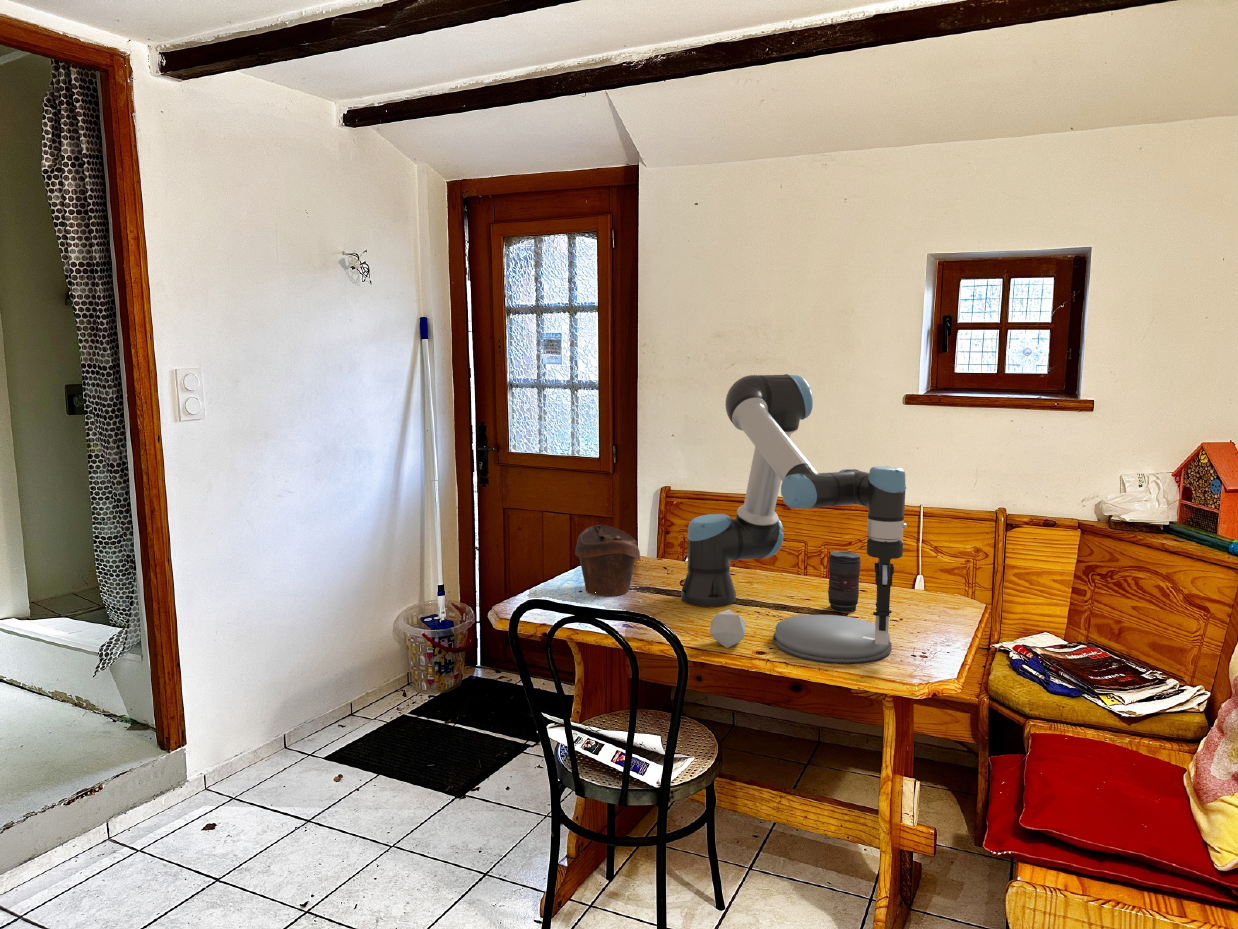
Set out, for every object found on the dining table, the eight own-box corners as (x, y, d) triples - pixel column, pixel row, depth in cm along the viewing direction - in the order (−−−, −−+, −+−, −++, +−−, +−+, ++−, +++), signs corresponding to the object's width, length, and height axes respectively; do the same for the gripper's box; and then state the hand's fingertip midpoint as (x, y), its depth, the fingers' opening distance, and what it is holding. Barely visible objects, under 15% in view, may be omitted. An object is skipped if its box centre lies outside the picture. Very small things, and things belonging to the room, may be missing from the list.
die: (724, 638, 207) (702, 610, 204) (754, 625, 204) (733, 596, 201) (722, 660, 200) (699, 632, 197) (753, 647, 196) (731, 618, 194)
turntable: (756, 644, 197) (757, 610, 196) (801, 616, 218) (802, 585, 217) (866, 667, 182) (868, 631, 181) (904, 635, 204) (905, 602, 203)
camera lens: (860, 614, 224) (861, 558, 222) (828, 612, 226) (829, 556, 224) (857, 605, 232) (859, 551, 230) (827, 603, 233) (828, 550, 232)
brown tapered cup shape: (621, 604, 234) (621, 539, 231) (562, 593, 244) (561, 532, 242) (653, 588, 249) (653, 528, 246) (596, 579, 259) (595, 521, 257)
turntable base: (753, 648, 197) (753, 644, 197) (800, 619, 219) (800, 615, 219) (868, 673, 182) (868, 668, 182) (906, 639, 204) (906, 635, 204)
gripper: (905, 545, 178) (900, 654, 180) (901, 533, 190) (897, 635, 193) (867, 543, 180) (863, 651, 182) (866, 531, 192) (863, 632, 195)
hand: (881, 643), depth 188 cm, fingers closed
